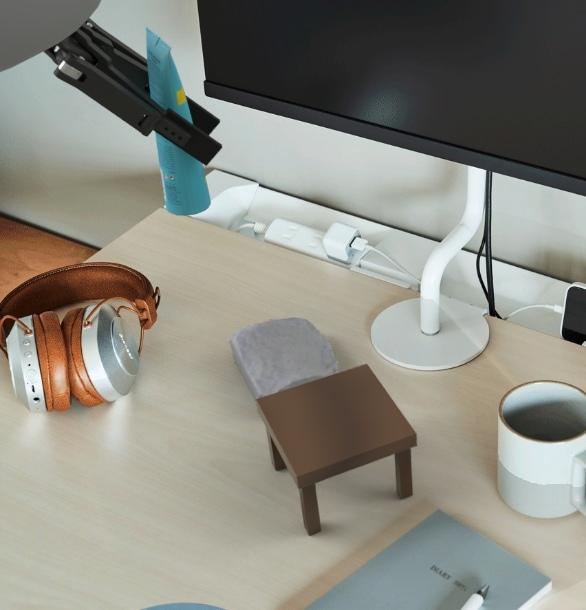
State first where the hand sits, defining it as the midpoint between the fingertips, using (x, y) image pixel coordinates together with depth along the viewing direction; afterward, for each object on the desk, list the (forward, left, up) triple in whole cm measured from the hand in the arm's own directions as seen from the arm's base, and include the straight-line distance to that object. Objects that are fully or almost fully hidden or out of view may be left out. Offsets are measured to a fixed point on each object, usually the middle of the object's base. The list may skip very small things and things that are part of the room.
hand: (213, 142), depth 100 cm
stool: (-1, -34, -20) cm, 40 cm away
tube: (-4, +1, -8) cm, 8 cm away
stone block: (0, -17, -20) cm, 27 cm away
